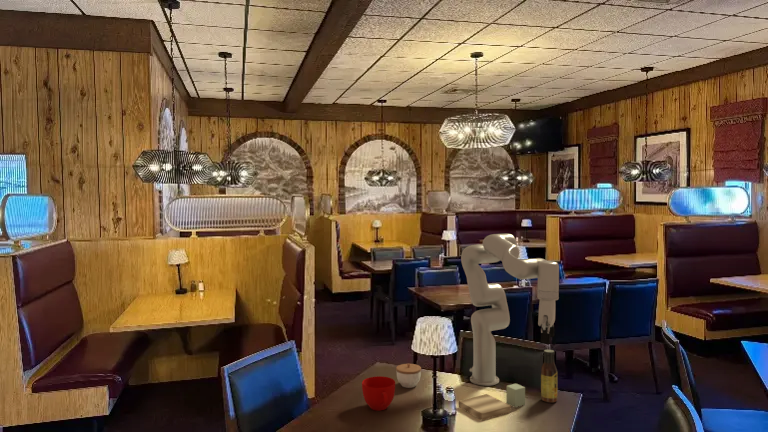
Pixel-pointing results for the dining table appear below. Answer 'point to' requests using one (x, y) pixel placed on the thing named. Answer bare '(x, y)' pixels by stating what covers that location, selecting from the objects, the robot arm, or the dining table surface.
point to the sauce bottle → (549, 378)
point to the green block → (515, 395)
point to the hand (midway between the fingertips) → (547, 340)
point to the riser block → (484, 406)
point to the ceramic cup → (378, 392)
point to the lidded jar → (408, 374)
